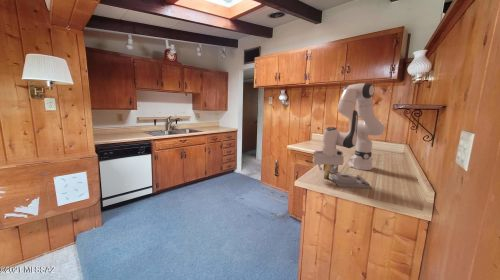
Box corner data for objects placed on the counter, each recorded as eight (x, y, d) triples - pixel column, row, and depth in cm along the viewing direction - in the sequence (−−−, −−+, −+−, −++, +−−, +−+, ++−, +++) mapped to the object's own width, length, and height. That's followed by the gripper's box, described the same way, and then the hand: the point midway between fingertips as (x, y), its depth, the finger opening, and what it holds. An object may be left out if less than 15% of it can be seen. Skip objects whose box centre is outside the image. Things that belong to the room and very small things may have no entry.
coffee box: (338, 172, 160) (340, 152, 157) (333, 174, 156) (336, 153, 153) (327, 169, 167) (328, 149, 164) (322, 170, 163) (324, 150, 160)
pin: (323, 177, 148) (324, 161, 146) (328, 177, 148) (329, 161, 145) (324, 179, 145) (326, 162, 143) (329, 179, 144) (330, 162, 142)
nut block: (330, 176, 150) (331, 171, 149) (359, 178, 148) (360, 172, 147) (338, 186, 132) (339, 180, 131) (371, 188, 130) (372, 182, 129)
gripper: (314, 151, 140) (313, 171, 142) (345, 152, 139) (343, 172, 142) (312, 149, 146) (310, 168, 149) (341, 150, 145) (339, 169, 148)
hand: (326, 170), depth 145 cm, fingers open, 8 cm apart
